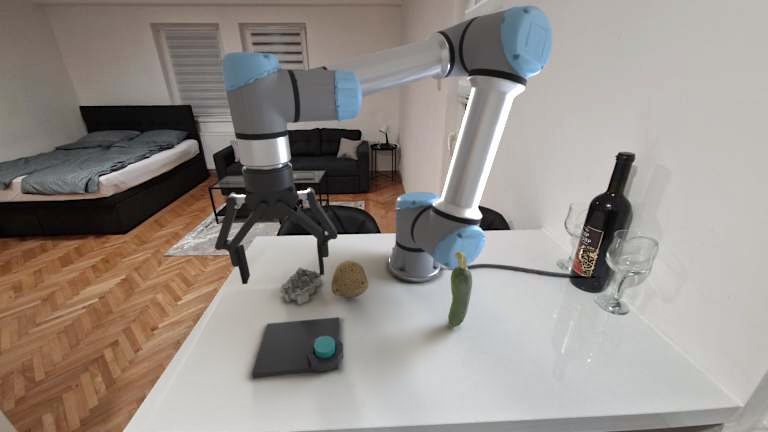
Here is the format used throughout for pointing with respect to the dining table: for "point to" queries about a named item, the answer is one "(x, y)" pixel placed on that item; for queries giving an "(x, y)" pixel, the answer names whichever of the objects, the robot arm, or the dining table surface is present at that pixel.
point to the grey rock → (302, 279)
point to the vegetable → (460, 291)
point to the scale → (296, 348)
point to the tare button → (324, 347)
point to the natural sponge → (349, 280)
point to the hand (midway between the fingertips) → (285, 275)
